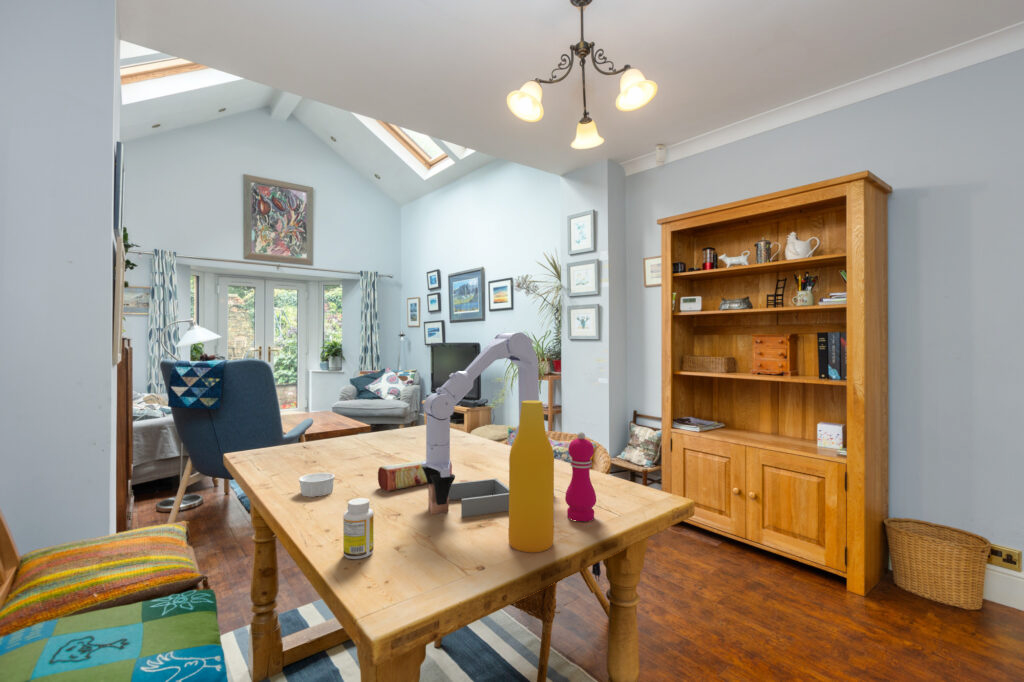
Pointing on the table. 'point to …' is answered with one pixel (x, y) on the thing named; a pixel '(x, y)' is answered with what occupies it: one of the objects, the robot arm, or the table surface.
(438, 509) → the block
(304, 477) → the ramekin
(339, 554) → the table surface
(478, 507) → the open side box
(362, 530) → the supplement bottle
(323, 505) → the table surface
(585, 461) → the pepper mill
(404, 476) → the snack package
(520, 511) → the beer bottle
